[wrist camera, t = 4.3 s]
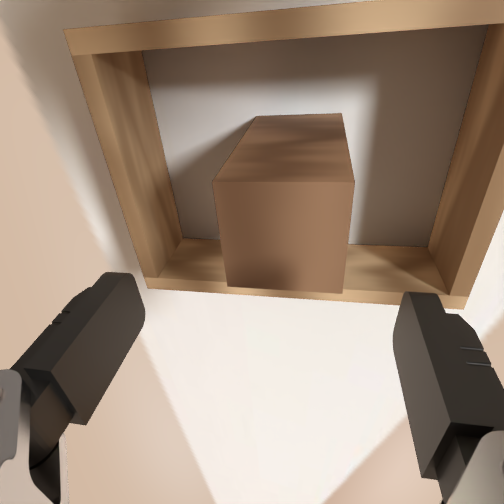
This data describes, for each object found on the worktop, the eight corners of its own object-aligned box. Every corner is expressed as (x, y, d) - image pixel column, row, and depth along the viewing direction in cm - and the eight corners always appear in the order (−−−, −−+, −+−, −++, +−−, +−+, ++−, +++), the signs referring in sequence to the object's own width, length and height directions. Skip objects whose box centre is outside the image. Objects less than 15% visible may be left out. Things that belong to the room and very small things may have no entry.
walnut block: (341, 113, 19) (354, 182, 11) (335, 192, 22) (342, 293, 14) (256, 116, 20) (211, 181, 12) (261, 192, 23) (227, 286, 15)
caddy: (522, -10, 15) (595, -20, 11) (439, 259, 23) (463, 309, 19) (119, 26, 19) (62, 29, 15) (173, 248, 27) (147, 288, 23)
